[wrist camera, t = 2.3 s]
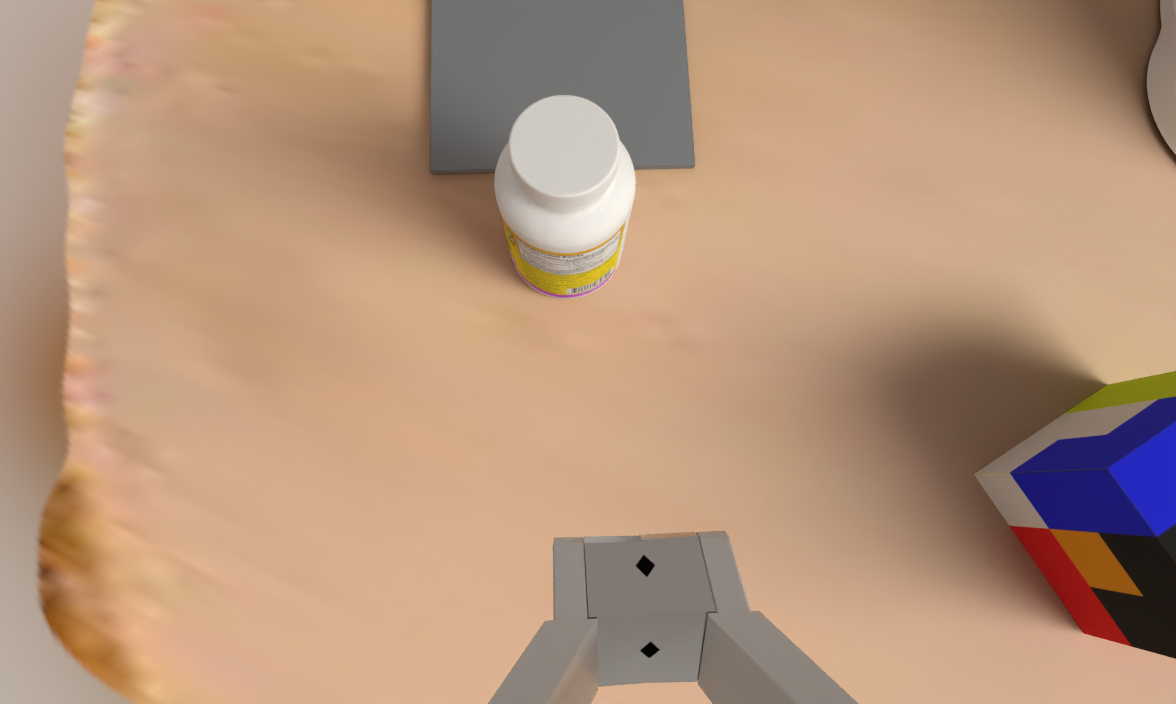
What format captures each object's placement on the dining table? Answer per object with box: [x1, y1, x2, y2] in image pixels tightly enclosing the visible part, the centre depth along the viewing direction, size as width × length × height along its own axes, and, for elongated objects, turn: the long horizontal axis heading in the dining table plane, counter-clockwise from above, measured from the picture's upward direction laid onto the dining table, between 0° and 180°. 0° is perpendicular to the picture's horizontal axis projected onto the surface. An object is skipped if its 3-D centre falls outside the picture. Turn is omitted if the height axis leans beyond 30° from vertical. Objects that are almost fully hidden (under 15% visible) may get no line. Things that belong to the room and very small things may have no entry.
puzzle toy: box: [974, 371, 1176, 658], centre depth 34 cm, size 10×10×10 cm
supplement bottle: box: [494, 95, 636, 299], centre depth 35 cm, size 7×7×13 cm
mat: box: [430, 0, 695, 174], centre depth 43 cm, size 14×16×1 cm
